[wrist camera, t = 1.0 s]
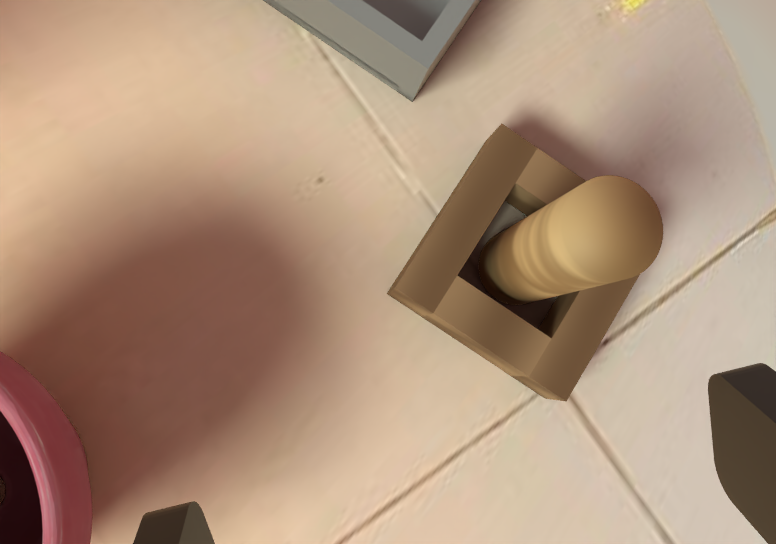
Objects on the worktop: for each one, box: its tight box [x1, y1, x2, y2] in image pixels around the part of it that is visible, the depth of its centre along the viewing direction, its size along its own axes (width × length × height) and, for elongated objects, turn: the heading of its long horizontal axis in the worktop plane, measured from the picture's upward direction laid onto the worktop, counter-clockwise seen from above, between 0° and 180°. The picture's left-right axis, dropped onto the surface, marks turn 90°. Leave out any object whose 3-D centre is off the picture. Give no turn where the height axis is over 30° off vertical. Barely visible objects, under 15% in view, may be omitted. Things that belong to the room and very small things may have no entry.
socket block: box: [387, 124, 640, 401], centre depth 38 cm, size 10×10×3 cm
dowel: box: [478, 175, 663, 305], centre depth 33 cm, size 4×4×12 cm
